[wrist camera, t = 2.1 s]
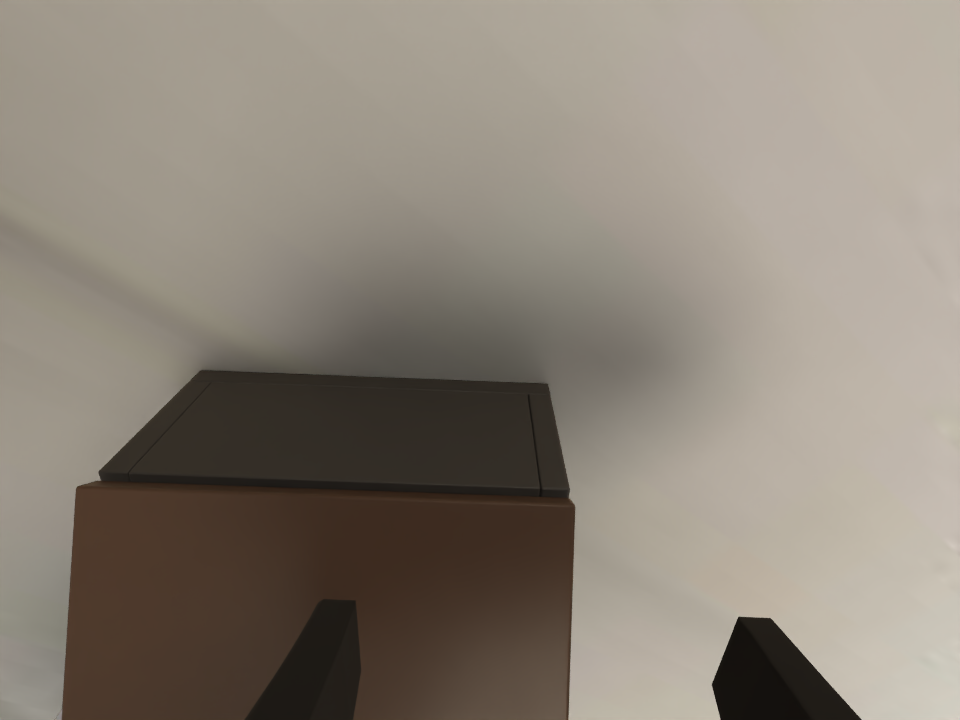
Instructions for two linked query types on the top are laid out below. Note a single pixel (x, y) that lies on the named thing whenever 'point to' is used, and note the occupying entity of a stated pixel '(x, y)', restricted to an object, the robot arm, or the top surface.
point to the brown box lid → (317, 599)
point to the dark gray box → (351, 436)
